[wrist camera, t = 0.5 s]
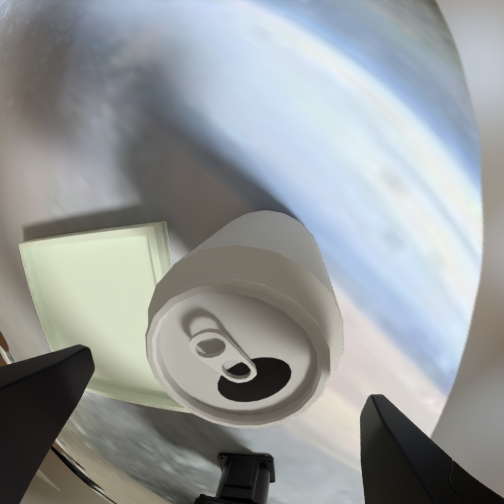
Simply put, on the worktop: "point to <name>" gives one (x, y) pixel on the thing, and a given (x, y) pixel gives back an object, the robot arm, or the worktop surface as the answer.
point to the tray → (103, 302)
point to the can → (247, 324)
